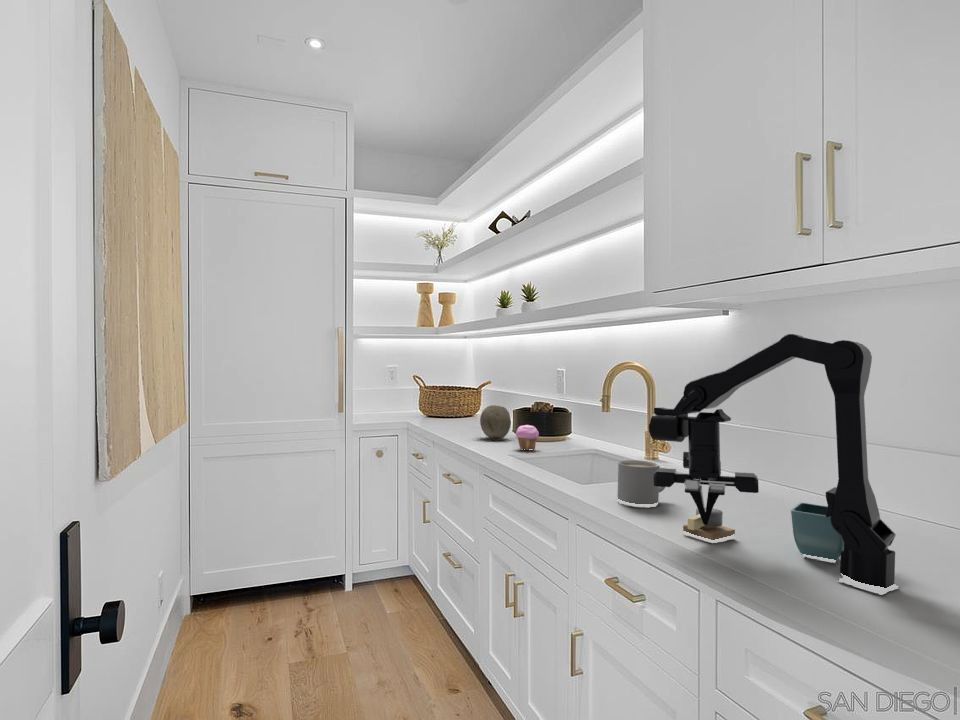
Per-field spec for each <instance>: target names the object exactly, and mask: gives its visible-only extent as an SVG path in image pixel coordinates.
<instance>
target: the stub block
mask: <svg viewBox="0 0 960 720" xmlns="http://www.w3.org/2000/svg"><path fill="white" fill-rule="evenodd" d="M682 528H683V530H682V532H683V531H686V532H689V533H691V534H694V535H697V536H701V537H704V538H708V539H711V540H715V539H719V538H723V537H727V536H731V535H733V534H735V535H736V533H735V532H736V529H734V528H731V527H729V526H728V527H727V526H724V525H722V526H717V527H713V526H705V525H704V526H702V527H700V528H698V529H695V530H690V529H688V523H687V524H683V527H682Z"/></svg>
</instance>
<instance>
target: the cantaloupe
mask: <svg viewBox="0 0 960 720" xmlns="http://www.w3.org/2000/svg"><path fill="white" fill-rule="evenodd" d="M479 424H480V429H481V430H482V432H483V434H484V435H485V436H486V437H488V438H489V439H491V440H493V439H494V440H493V441H499V440H498V439H500V440H502V439H503V438H505V437H506V436H507V435H508V433H509V431H510V429H511V426H512V420H511V416H510V412H509V411H508V409H507V408H506V407H504V406H501V405H489V406H486V407H485V408H484V409H483V410H482V412H481V415H480V418H479Z"/></svg>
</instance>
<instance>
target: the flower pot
mask: <svg viewBox="0 0 960 720" xmlns="http://www.w3.org/2000/svg"><path fill="white" fill-rule="evenodd" d="M827 511H828V505H827V506H826V505H819V504H815V503H814V504H813V503H807V502H798V503H797V504H796V505H794V507H792V508H791V509H790V514H791V516H790V517H791V522H792V523H791V525H792V535H793V539H794V542H795V545H796V547H797V549H798V551H799V553H800V554H801V553H802V554H806V555H811V556H817V557H823V558H828V559H834V560H837V561H839V558H840V554H841V551H843V550H844V541H843V538H842V535H840V534H839V533H838V532H837V531H836V530H835V529H834V528H833V526H832V524H831V520H830V519H831V516H830V517H826V514H827ZM802 554H801V555H802Z"/></svg>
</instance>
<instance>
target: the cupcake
mask: <svg viewBox="0 0 960 720" xmlns="http://www.w3.org/2000/svg"><path fill="white" fill-rule="evenodd" d="M539 436H540V433H539V431H538V429H537V428H536V426H534V425H530V424H524V425H520V426H518V427H517V428H516V432H515V437H517V441H518V445H519V449H520V450H521V449H525V450H529V449H534V450H535V449H536V444H537V439H538V438H539ZM525 450H524V451H525ZM529 451H530V450H529Z"/></svg>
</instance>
